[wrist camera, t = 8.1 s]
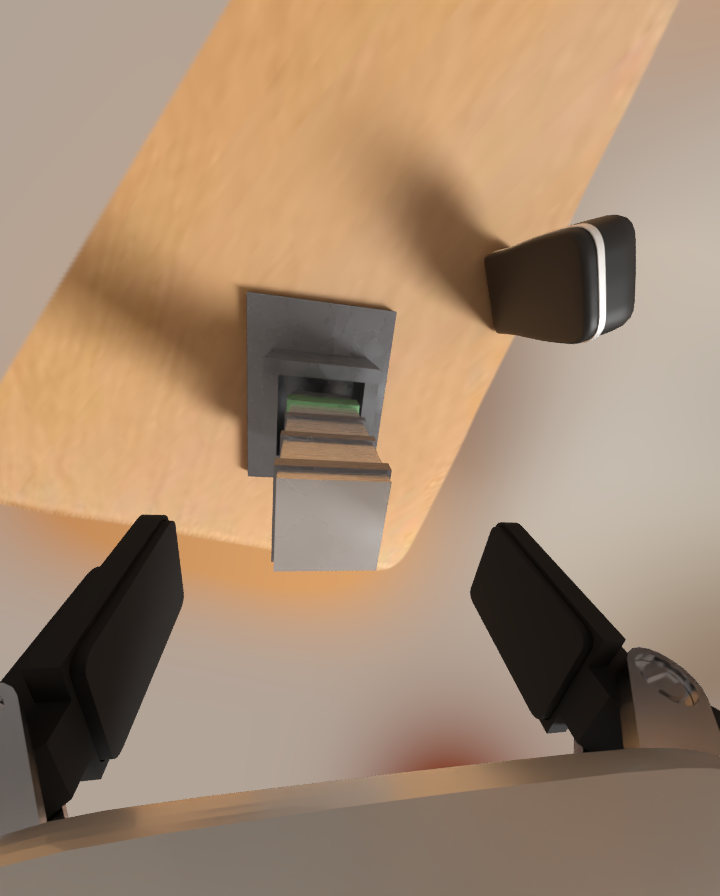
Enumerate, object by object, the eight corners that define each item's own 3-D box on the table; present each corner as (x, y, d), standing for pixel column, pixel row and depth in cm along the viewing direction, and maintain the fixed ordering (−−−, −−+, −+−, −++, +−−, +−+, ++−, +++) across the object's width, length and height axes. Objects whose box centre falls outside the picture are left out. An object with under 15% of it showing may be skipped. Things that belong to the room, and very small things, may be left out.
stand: (248, 292, 26) (221, 284, 18) (393, 311, 28) (428, 312, 20) (249, 471, 32) (229, 527, 24) (369, 476, 34) (388, 529, 26)
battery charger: (532, 321, 31) (648, 329, 20) (494, 336, 31) (590, 351, 20) (523, 238, 28) (653, 195, 17) (481, 254, 28) (585, 221, 17)
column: (289, 387, 23) (270, 472, 11) (352, 392, 24) (397, 477, 12) (287, 446, 24) (268, 575, 13) (346, 449, 25) (379, 574, 13)
